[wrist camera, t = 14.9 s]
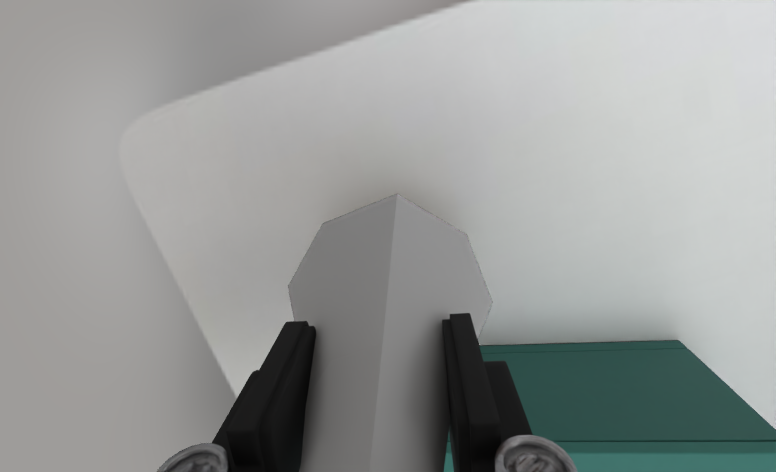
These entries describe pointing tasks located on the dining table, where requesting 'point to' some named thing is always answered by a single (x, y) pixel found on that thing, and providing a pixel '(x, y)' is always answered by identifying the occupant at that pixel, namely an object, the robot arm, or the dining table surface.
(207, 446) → the robot arm
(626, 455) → the lunchbox lid
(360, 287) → the flask
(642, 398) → the box
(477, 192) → the dining table surface
